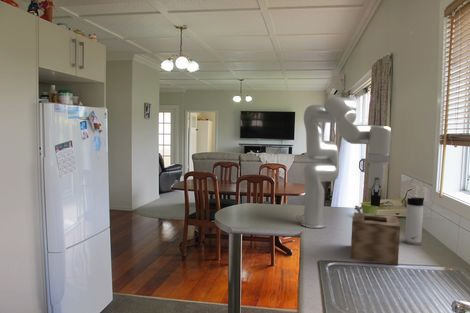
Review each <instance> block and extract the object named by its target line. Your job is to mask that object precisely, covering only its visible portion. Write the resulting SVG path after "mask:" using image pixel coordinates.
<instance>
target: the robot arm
mask: <svg viewBox="0 0 470 313" xmlns="http://www.w3.org/2000/svg"><path fill="white" fill-rule="evenodd" d="M356 111H357V103H356V101H355V100H354V99H353V98H350V97H342V96H332V97H329V98H327V99H326V100H325V101H324V104H311V105H309V106H308V107H306V109H305V110H304V113H303V124H304V128H305V134H306V137H305V138H306V139H305V141H306V146H305V147H306V149H305V150H306V156H307V158H308V159H309V160H313V161H315V160H318V161H319V162H310V163H307V164H305V166H304V167H303V177H304V206H303V207H304V211H303V215H297V214H296V215H295V220H297V221H298V220H299V221H300V225H301V226H302V225H303V227H305V226H306V228H309V229H323V228H326V227H327V223H326V222H324V215H325V214H324V211H325V188H324V186H323V184H322V182H334V181H336V180H337V179H338V177H339V173H340V172H339V171H340V170H339V169H340V164H339V163H340V162H339V161H340V159H339V157H340V156H339V147H338V146H337V144H336V142H334V141H331V140H325V139H324V138H325V136H324V135H325V134H324V133H325V132H324V129H323V127H322V126H321V125H320V123H328V124H329V123H330V124H331V123H333V124H335V123H336V128H337V133H338V135H339V136H340V137H341V138H343V140H344V141H345V142H347V143H349V144H352V145H367V146H368V148H367V159H366V160H367V163H369V167H368V168H369V171H368V183H367V185H368V189H371V191H370V202H371V206H378V207H381V191H382V189H383V187H384V186H383V185H384V179H385V170H386V169H385V168H386V164H390V151H391V150H390V149H391V136H392V129H391V127H390V126H387V125H373V124H372V125H371V124H354V122H355V121H356V118H357V112H356ZM322 160H323V161H325V162H321V161H322Z"/></svg>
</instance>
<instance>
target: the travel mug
mask: <svg viewBox="0 0 470 313" xmlns="http://www.w3.org/2000/svg"><path fill="white" fill-rule="evenodd" d="M424 201H425V198H424V197H407V201H406V214H405V230H404V231H405V232H404V234H405V235H404V243H406V244H409V245H414V246H415V245H416V246H419V245H421V244H422V236H423V234H422V232H423V218H424V217H423V216H424Z"/></svg>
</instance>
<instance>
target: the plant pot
mask: <svg viewBox="0 0 470 313" xmlns="http://www.w3.org/2000/svg"><path fill="white" fill-rule="evenodd" d="M360 206H361V209H362V213H366V214H376V215H377V212H378V208H379V206H371V201H363V202H360Z"/></svg>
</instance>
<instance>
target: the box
mask: <svg viewBox="0 0 470 313" xmlns="http://www.w3.org/2000/svg"><path fill="white" fill-rule="evenodd" d="M400 229H401V226H400V222H399V218H398V216H396V215H395V216H393V215H385V214H377V213H376V214H366V213H363V212H354V213H353V217H352V222H351V238H350V239H351V244H350V259H353V260H360V261H365V262H366V261H367V262H374V263H380V264H388V265H393V266H399V253H400V252H399V250H400V235H401V230H400Z"/></svg>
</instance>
